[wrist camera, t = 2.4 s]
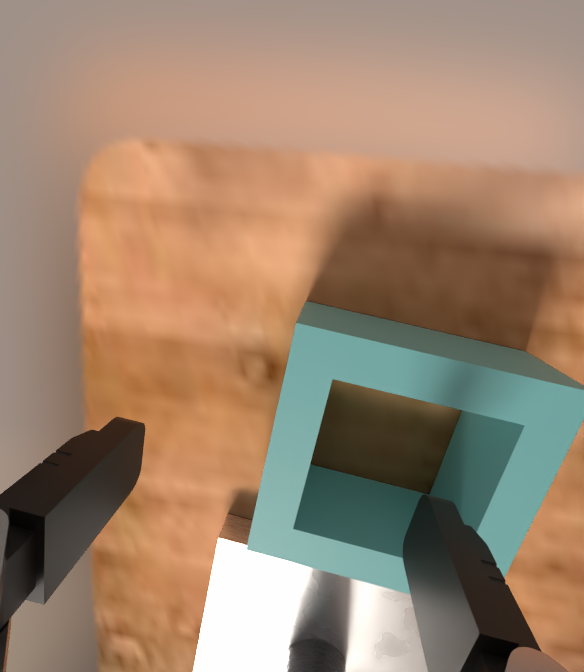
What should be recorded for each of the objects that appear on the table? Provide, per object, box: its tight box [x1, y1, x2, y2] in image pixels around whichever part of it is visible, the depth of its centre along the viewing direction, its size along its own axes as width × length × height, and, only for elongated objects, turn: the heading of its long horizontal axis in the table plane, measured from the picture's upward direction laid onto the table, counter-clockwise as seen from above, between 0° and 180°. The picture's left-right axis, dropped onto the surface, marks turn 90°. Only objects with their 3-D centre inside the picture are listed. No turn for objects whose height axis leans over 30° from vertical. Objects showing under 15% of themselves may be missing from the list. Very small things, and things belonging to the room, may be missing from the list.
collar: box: [246, 301, 584, 595], centre depth 14 cm, size 9×9×4 cm
